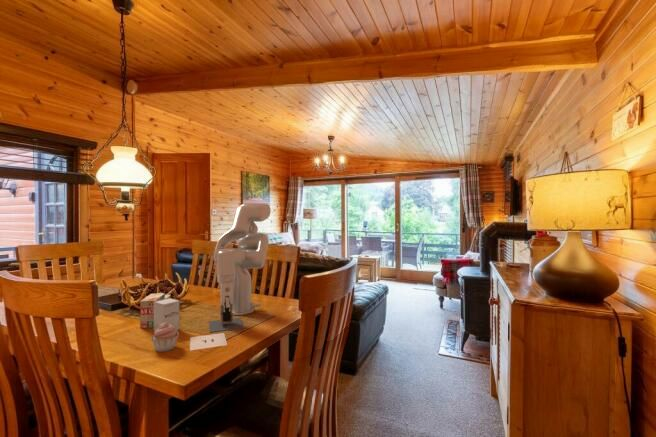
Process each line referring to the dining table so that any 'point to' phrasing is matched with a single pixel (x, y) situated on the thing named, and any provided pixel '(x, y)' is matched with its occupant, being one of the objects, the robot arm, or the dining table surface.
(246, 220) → the robot arm
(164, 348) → the cupcake
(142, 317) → the white printed carton
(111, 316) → the dining table surface
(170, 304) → the supplement box
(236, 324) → the mat
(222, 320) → the walnut block
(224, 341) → the tile
